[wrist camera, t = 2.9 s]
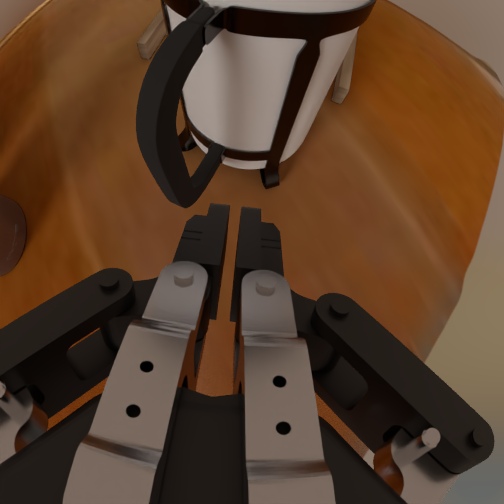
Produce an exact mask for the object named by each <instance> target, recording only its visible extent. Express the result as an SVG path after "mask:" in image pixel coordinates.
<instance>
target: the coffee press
mask: <svg viewBox="0 0 504 504" xmlns="http://www.w3.org/2000/svg"><path fill="white" fill-rule="evenodd" d="M376 1H377V0H161V7H162V12H163V18H164V23H165V28H166V33H167V38H166V39H165V41H164V42H163V43H162V45H161V46H160V48H159V49H158V51H157V53H156V54H155V56H154V58H153V60H152V62H151V64H150V66H149V68H148V70H147V72H146V75H145V77H144V80H143V83H142V87H141V90H140V94H139V99H138V105H137V114H136V132H137V140H138V144H139V148H140V150H141V153H142V156H143V158H144V160H145V162H146V164H147V166H148V168H149V170H150V172H151V173H152V175H153V177H154V178H155V180H156V182H157V184H158V185H159V187H160V189H161V190H162V192H163V193H164V195H165V196H166V198H167V199H168V200H169V201H170V202H172V203H174V204H176V205H179V206H181V207H183V208H188V207H190V206H191V205H193V204H194V203H195V202H196V201H197V199H198V198H199V197H200V196H201V194H202V193H203V191H204V190H205V188H206V187H207V185H208V184H209V182H210V180H211V179H212V177H213V175H214V174H215V172H216V170H217V168H218V167H219V165H220V163H223V164H225V165H228V166H231V167H235V168H240V169H260V174H261V179H262V183H263V185H264V187H265V189H269V188H272V187H275V186H279V184H280V183H279V173H278V166H279V163H280V162H282V161H284V160H286V159H287V158H289V157H290V156H291V155H292V154H294V153H295V152H296V151H297V149H298V148H299V147H300V146H301V144H302V143H303V141H304V139H305V137H306V135H307V133H308V131H309V129H310V127H311V125H312V123H313V121H314V119H315V117H316V115H317V113H318V111H319V109H320V107H321V105H322V103H323V101H324V98H325V96H326V94H327V92H328V90H329V88H330V86H331V84H332V82H333V80H334V78H335V76H336V74H337V72H338V69H339V67H340V65H341V63H342V61H343V59H344V57H345V55H346V53H347V51H348V49H349V47H350V45H351V43H352V40H353V38H354V36H355V34H356V32H357V30H358V28H359V26H360V25H361V24H363V23H364V22H365V21H366V20H367V18H368V17H369V15H370V13H371V11H372V9H373V7H374V5H375V3H376ZM164 2H165V3H164ZM165 6H166V8H165ZM166 12H167V13H166ZM167 17H168V18H167ZM168 23H169V24H168ZM182 96H183V97H182ZM179 99H180V101H181V105H182V110H183V115H184V120H185V128H184V130H183V131H182V133H181V134H180V135H179V136H178V135H177V129H176V116H177V109H178V104H179ZM183 101H184V102H183ZM185 110H186V111H185ZM186 115H187V116H186ZM189 129H190V131H191V134H192V136H191V137H190V131H189ZM196 145H198V146H199V147H200V148H201V149H202V150H203V151H204V152H205V153H206V155H205V157H204V159H203V160H202V162H201V164H200V165H199V167H198V168H197V170H196V171H195V173H194V174H193V176H192V177H191V178H190V176H189V173H188V170H187V167H186V163H185V160H184V157H183V153H182V151H189V150H191V149H193V148H194V147H195V146H196Z"/></svg>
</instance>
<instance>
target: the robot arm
mask: <svg viewBox="0 0 504 504" xmlns="http://www.w3.org/2000/svg"><path fill="white" fill-rule="evenodd" d="M229 211H230V205H222V204H213V203H211V204H210V207H209V210H208V214H207V216H202V215H194V216H193V217H192V218H191V219H189V220H188V221H187V222H186V225H185V228H184V232H183V233H182V236H181V239H180V242H179V245H178V248H177V250H176V253H175V256H174V259H173V262H172V263H171V264H169V265H167V266H166V267H164V268H163V270H162V271H161V273H160V275H159V277H157V278H154V279H149V280H141V281H133V280H132V277H131V275H130V274H129V273H128V272H126V271H124V270H122V269H118V268H108V269H104V270H101V271H99V272H97V273H95V274H93V275H91V276H89V277H88V278H86V279H84V280H82V281H81V282H79V283H77V284H75V285H74V286H72V287H70V288H68V289H67V290H65V291H63V292H61V293H60V294H58V295H56V296H55V297H53V298H51V299H49V300H48V301H46V302H44V303H43V304H41V305H39V306H38V307H36V308H34V309H33V310H31V311H29V312H28V313H26V314H24V315H23V316H21V317H19V318H18V319H16V320H15V321H13V322H11V323H10V324H8V325H7V326H5V327H3V328H2V329H0V504H439V503H440V501H441V500H442V498H443V497H444V496H445V495H446V493H447V492H448V490H449V489H450V488H451V486H452V485H453V484H454V482H455V481H456V479H457V478H458V476H459V475H460V474H461V473H463V472H465V471H467V470H468V469H470V468H472V467H474V466H475V465H477V464H479V463H481V462H482V461H484V460H486V459H487V458H488V457H489V456H490V455H491V453H492V451H493V448H494V435H493V432H492V429H491V427H490V426H489V424H488V423H487V422H486V421H485V420H484V419H483V418H482V417H481V416H480V415H479V414H478V413H477V412H476V411H475V410H474V409H473V408H471V407H470V406H469V405H468V404H467V403H466V402H465V401H464V400H463V399H462V398H461V397H460V396H459V395H458V394H457V393H456V392H454V391H453V390H452V389H451V388H450V387H449V386H448V385H447V384H446V383H445V382H444V381H443V380H441V379H440V378H439V377H438V376H437V375H436V374H435V373H434V372H433V371H432V370H431V369H430V368H428V366H426V365H425V364H424V363H423V362H422V361H421V360H420V359H419V358H418V357H417V356H415V355H414V354H413V353H412V352H411V351H410V350H409V349H408V348H407V347H405V346H404V345H403V344H402V343H401V342H400V341H399V340H398V339H397V338H395V337H394V336H393V335H392V334H391V333H390V332H389V331H388V330H386V329H385V328H384V327H383V326H382V325H381V324H380V323H379V322H377V321H376V320H375V319H374V318H373V317H372V316H371V315H370V314H368V313H367V312H366V311H365V310H364V309H363V308H362V307H360V306H359V305H358V304H357V303H356V302H355V301H353V300H352V299H351V298H349V297H347V296H345V295H342V294H338V293H328V294H325V295H322V296H321V297H320V298H319V299H318V300H317V301H314V300H311V299H308V298H306V297H303V296H300V295H299V294H297V293H295V292H294V291H292V290H291V289H290V286H289V283H288V281H287V280H286V279H285V278H284V272H283V261H282V250H281V239H280V231H279V230H278V229H277V227H276V226H275V225H274V223H265V222H261V209H258V208H250V207H242V208H241V216H240V224H239V233H238V241H237V250H236V259H235V269H234V280H233V290H232V300H231V311H230V321H232V322H236V326H235V336H234V353H233V395H225V396H217V397H211V396H207V395H204V394H201V393H198V392H196V385H197V379H198V374H199V369H200V364H201V359H202V354H203V349H204V344H205V339H206V333H207V330H208V325H209V319H213V320H216V317H217V309H218V302H219V294H220V287H221V280H222V273H223V266H224V259H225V252H226V243H227V232H228V222H229ZM25 240H26V221H25V217H24V214H23V211H22V209H21V208H20V206H19V205H18V204H17V203H16V202H14V201H13V200H11V199H9V198H7V197H5V196H3V195H1V194H0V276H2V275H4V274H7V273H8V272H9V271H10V270H12V269H13V267H14V266H15V265H16V264H17V262H18V260H19V258H20V256H21V254H22V251H23V249H24V244H25ZM97 328H100V329H99V330H98V331H96V332H94V333H93V334H91V335H90V336H88V337H87V338H85V339H84V340H82V341H81V342H79V343H78V344H76V345H75V346H73V347H72V348H70V347H71V346H72V345H73V344H74V343H76V342H77V341H79V340H80V339H82V338H83V337H85V336H86V335H88V334H90V333H91V332H93V331H94V330H96V329H97ZM69 348H70V349H69ZM68 349H69V350H68ZM108 376H109V377H108ZM107 377H108V380H107V383H106V385H105V388H104V391H103V393H101V394H99V395H97V396H95V397H94V398H92V399H91V400H89V401H88V402H87V403H85V404H84V405H82V406H81V407H80V408H78V409H77V410H76V411H74V412H73V413H71V414H70V415H69V416H67V417H66V418H64V419H63V420H62V421H60V422H59V423H58V424H56V425H55V426H53V427H52V428H51V429H49V430H48V431H47V428H48V419H49V418H51V417H52V416H53V415H55V414H56V413H58V412H59V411H61V410H62V409H63V408H65V407H66V406H68V405H69V404H70V403H72V402H73V401H75V400H76V399H77V398H79V397H80V396H82V395H83V394H84V393H86V392H87V391H89V390H90V389H91V388H93V387H94V386H96V385H97V384H98V383H100V382H101V381H103V380H104V379H105V378H107ZM314 391H315V392H316V393H317V395H318V396H319V397H320V398H321V399H322V400H323V401H324V402H325V403H326V404H327V405H328V406H329V407H330V408H331V409H332V411H333V412H334V413H335V414H336V415H337V416H338V417H339V418H340V419H341V420H342V421H343V422H344V423H345V424H346V425H347V426H348V427H349V428H350V429H351V430H352V431H353V432H354V433H355V435H356V436H357V437H358V438H359V439H360V440H361V441H362V442H363V443H364V444H365V445H366V446H367V447H368V448H369V449H370V450H371V451H372V452H373V453H374V454H375V455H374V460H373V464H374V470H373V469H372V468H371V467H370V466H369V465H368V464H367V463H366V462H365V461H364V460H363V458H362V457H361V456H360V455H359V454H358V453H357V452H356V451H355V450H354V449H353V448H352V447H351V446H350V445H349V444H348V443H347V442H346V441H345V440H344V439H343V438H342V437H341V435H340V434H339V433H338V432H337V431H336V430H335V429H334V428H333V427H332V426H331V425H330V424H329V423H328V422H327V421H325V420H324V419H323V418H322V417H320V416H319V415H318V412H317V405H316V399H315V392H314Z"/></svg>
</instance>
